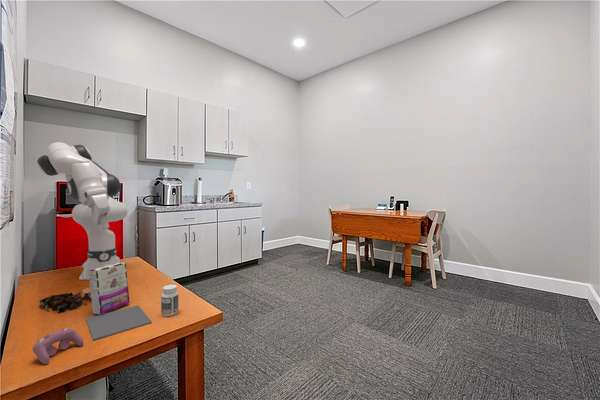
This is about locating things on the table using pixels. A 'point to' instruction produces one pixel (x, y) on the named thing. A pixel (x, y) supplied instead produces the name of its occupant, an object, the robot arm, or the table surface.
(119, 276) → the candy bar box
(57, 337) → the video game controller
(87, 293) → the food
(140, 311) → the mat
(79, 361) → the table surface
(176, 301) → the pill bottle
